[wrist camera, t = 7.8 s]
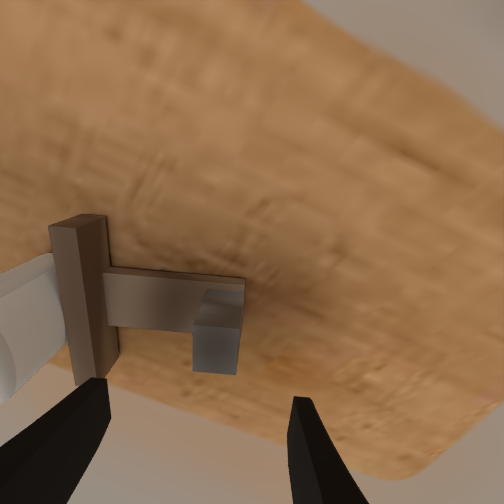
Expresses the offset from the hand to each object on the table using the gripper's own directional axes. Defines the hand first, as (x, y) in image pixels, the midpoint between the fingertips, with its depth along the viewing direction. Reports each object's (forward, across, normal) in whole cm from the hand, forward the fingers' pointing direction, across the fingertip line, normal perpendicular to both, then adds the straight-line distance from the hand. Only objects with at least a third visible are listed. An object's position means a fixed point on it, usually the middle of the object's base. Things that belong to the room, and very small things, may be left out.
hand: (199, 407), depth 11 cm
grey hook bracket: (+9, +4, +1) cm, 10 cm away
